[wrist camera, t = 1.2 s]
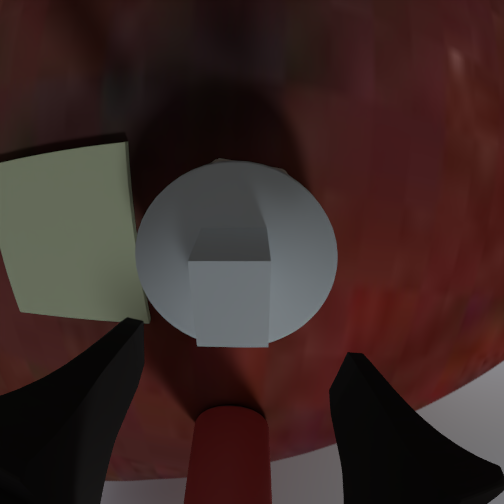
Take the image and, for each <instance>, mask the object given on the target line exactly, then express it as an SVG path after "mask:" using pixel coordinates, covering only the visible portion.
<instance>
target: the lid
mask: <svg viewBox="0 0 504 504" xmlns="http://www.w3.org/2000/svg"><path fill="white" fill-rule="evenodd" d="M135 259H136V268H137V272H138V276H139V280H140V282H141V285H142V288H143V290H144V292H145V294H146V295H147V297H148V299H149V301H150V302H151V303H152V305H153V306H154V308H155V309H156V310H157V311H158V312H159V313H160V314H161V316H162V317H163V318H164V319H166V320H167V321H168V322H169V323H170V324H171V325H173V326H174V327H176V328H177V329H179V330H180V331H182V332H183V333H185V334H187V335H189V336H191V337H193V338H196V341H197V346H204V347H268V343H269V342H273V341H275V340H278V339H281V338H283V337H285V336H287V335H289V334H291V333H293V332H294V331H296V330H297V329H299V328H300V327H302V326H303V325H304V324H305V323H306V322H307V321H309V320H310V319H311V318H312V317H313V316H314V315H315V313H316V312H317V311H318V310H319V309H320V307H321V306H322V304H323V303H324V302H325V300H326V298H327V296H328V294H329V292H330V290H331V288H332V285H333V282H334V279H335V274H336V269H337V245H336V239H335V235H334V231H333V229H332V226H331V224H330V221H329V219H328V217H327V215H326V214H325V212H324V210H323V209H322V207H321V206H320V204H319V203H318V202H317V200H316V199H315V198H314V197H313V195H312V194H311V193H310V192H309V191H308V190H307V189H306V188H305V187H304V186H303V185H302V184H301V183H299V182H298V181H296V180H295V179H294V178H292V177H291V176H289V175H288V174H286V173H284V172H282V171H280V170H278V169H276V168H273V167H270V166H267V165H264V164H260V163H255V162H250V161H235V160H233V161H220V162H215V163H211V164H206V165H203V166H201V167H198V168H195V169H193V170H191V171H189V172H187V173H185V174H183V175H181V176H180V177H179V178H177V179H176V180H174V181H173V182H172V183H170V184H169V185H168V186H167V187H166V188H165V189H164V190H163V191H162V192H161V193H160V194H159V195H158V196H157V197H156V198H155V199H154V201H153V202H152V203H151V205H150V206H149V208H148V209H147V211H146V213H145V215H144V217H143V219H142V221H141V224H140V227H139V230H138V234H137V239H136V247H135Z"/></svg>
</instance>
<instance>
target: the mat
mask: <svg viewBox="0 0 504 504" xmlns="http://www.w3.org/2000/svg"><path fill="white" fill-rule="evenodd" d="M136 239H137V232H136V224H135V215H134V206H133V197H132V187H131V176H130V163H129V148H128V142H119V143H110V144H102V145H94V146H87V147H80V148H74V149H67V150H61V151H55V152H50V153H44V154H39V155H33V156H28V157H24V158H19V159H14V160H10V161H5V162H1V163H0V249H1V253H2V256H3V260H4V264H5V267H6V270H7V274H8V277H9V280H10V283H11V286H12V289H13V292H14V295H15V298H16V301H17V304H18V307H19V309H20V312H26V313H34V314H42V315H51V316H60V317H69V318H80V319H91V320H102V321H115V322H121V321H123V320H124V319H125V318H127V317H129V318H133V319H138V320H142V321H144V323H146V324H149V323H150V321H151V317H150V312H149V307H148V301H147V296H146V294H145V292H144V290H143V288H142V285H141V282H140V280H139V276H138V272H137V268H136V259H135V247H136Z"/></svg>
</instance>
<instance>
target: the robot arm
mask: <svg viewBox="0 0 504 504" xmlns="http://www.w3.org/2000/svg"><path fill="white" fill-rule="evenodd" d="M143 366H144V321H142V320H138V319H133V318H129V317H127V318H125V319H124V320H123V321H121V322H120V323H119V324H118V325H116V326H115V327H114V328H113V329H112V330H111V331H109V332H108V333H107V334H106V335H104V336H103V337H102V338H101V339H100V340H98V341H97V342H96V343H94V344H93V345H92V346H91V347H89V348H88V349H87V350H85V351H84V352H83V353H81V354H80V355H78V356H77V357H76V358H74V359H73V360H71V361H70V362H68V363H67V364H65V365H64V366H62V367H61V368H59V369H57V370H56V371H54V372H52V373H51V374H49V375H47V376H45V377H43V378H42V379H40V380H37V381H35V382H33V383H31V384H29V385H26V386H24V387H22V388H20V389H17V390H15V391H12V392H9V393H7V394H4V395H1V396H0V504H100V501H101V497H102V491H103V486H104V482H105V477H106V473H107V469H108V464H109V461H110V457H111V453H112V449H113V446H114V443H115V440H116V437H117V434H118V432H119V429H120V427H121V425H122V422H123V420H124V417H125V415H126V413H127V410H128V408H129V406H130V403H131V401H132V399H133V396H134V394H135V392H136V389H137V387H138V384H139V380H140V377H141V373H142V370H143ZM329 394H330V409H331V417H332V422H333V427H334V432H335V437H336V441H337V446H338V451H339V456H340V461H341V467H342V473H343V474H342V475H343V492H344V504H487V503H489V502H490V501H491V500H493V499H494V498H495V497H497V496H498V495H499V494H500V493H501V492H503V491H504V474H503V472H502V470H501V467H500V466H498V465H496V464H493V463H491V462H489V461H487V460H484V459H482V458H480V457H478V456H476V455H474V454H472V453H470V452H468V451H467V450H465V449H463V448H462V447H460V446H458V445H457V444H455V443H454V442H452V441H451V440H449V439H448V438H447V437H445V436H444V435H442V434H441V433H440V432H438V431H437V430H436V429H435V428H433V427H432V426H431V425H430V424H429V423H427V422H426V421H425V420H424V419H423V418H422V417H421V416H419V415H418V414H417V413H416V412H415V411H414V410H413V409H412V408H411V407H410V406H409V405H408V404H407V403H406V402H405V401H404V399H403V398H402V397H401V396H400V395H399V394H398V393H397V392H396V391H395V390H394V389H393V387H392V386H391V385H390V384H389V383H388V382H387V381H386V379H385V378H384V377H383V376H382V375H381V374H380V372H379V371H378V370H377V369H376V368H375V367H374V365H373V364H372V363H371V362H370V361H369V360H368V359H367V358H366V357H365V355H364V354H362V353H350V352H348V353H347V355H346V357H345V359H344V361H343V363H342V365H341V367H340V369H339V372H338V374H337V376H336V378H335V380H334V382H333V384H332V386H331V388H330V390H329Z"/></svg>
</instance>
